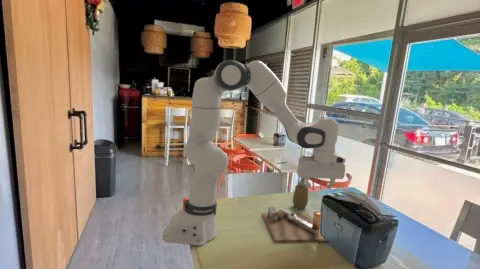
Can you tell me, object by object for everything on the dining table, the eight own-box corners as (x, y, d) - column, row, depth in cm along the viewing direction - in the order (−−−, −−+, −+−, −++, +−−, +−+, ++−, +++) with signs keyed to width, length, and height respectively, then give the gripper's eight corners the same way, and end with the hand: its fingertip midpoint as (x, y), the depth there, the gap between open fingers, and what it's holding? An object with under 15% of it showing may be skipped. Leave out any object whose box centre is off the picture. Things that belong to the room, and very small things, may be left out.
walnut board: (274, 242, 108) (275, 230, 107) (261, 215, 130) (262, 204, 129) (329, 241, 112) (331, 229, 111) (307, 215, 134) (309, 205, 133)
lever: (315, 235, 113) (317, 216, 111) (277, 214, 129) (279, 197, 128) (321, 232, 116) (323, 213, 114) (283, 212, 132) (285, 195, 130)
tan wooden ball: (276, 220, 124) (277, 213, 124) (274, 216, 128) (275, 209, 127) (283, 220, 125) (284, 213, 124) (281, 216, 128) (282, 209, 128)
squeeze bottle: (310, 209, 142) (314, 177, 138) (299, 212, 137) (303, 179, 134) (299, 203, 148) (302, 172, 145) (288, 205, 144) (292, 174, 140)
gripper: (302, 157, 106) (297, 189, 108) (349, 159, 109) (344, 191, 111) (296, 153, 112) (292, 184, 114) (341, 155, 115) (336, 185, 117)
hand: (318, 187), depth 113 cm, fingers open, 8 cm apart
